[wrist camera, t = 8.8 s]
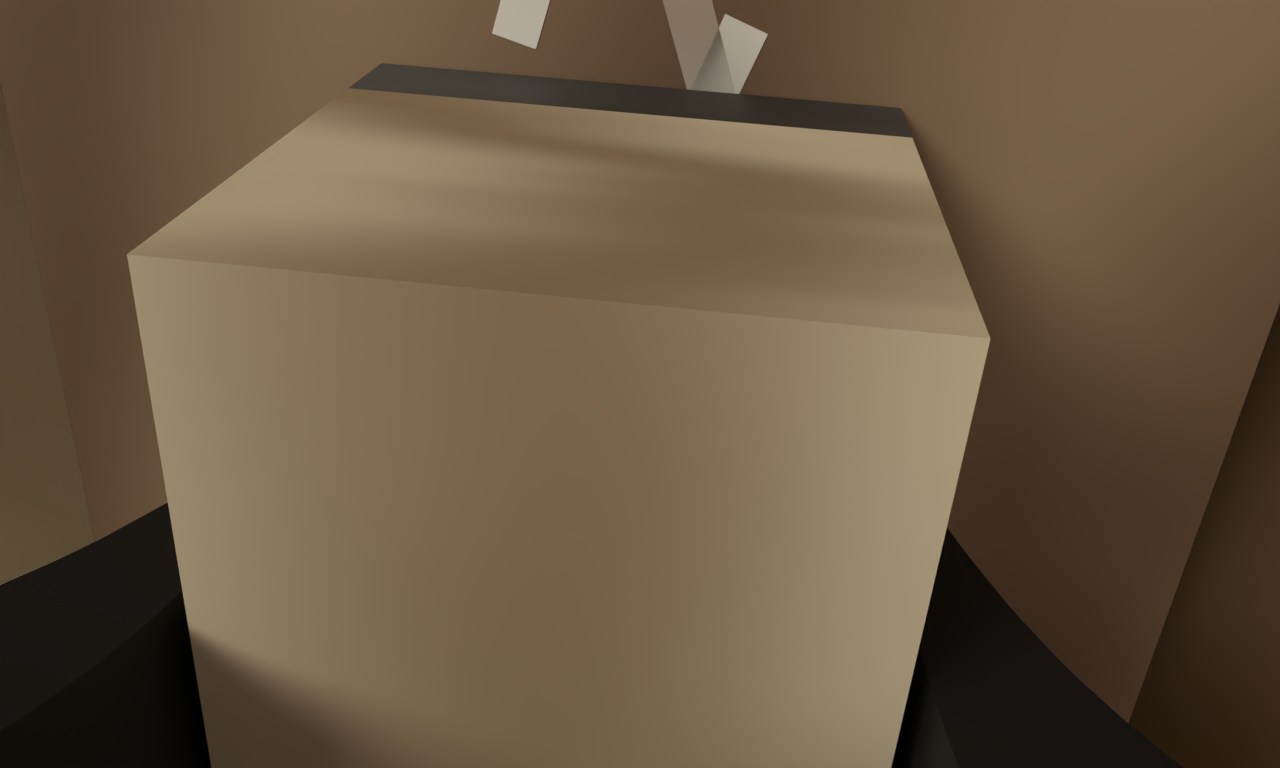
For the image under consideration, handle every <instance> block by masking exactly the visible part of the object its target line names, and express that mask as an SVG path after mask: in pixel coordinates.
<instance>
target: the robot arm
mask: <svg viewBox="0 0 1280 768" xmlns="http://www.w3.org/2000/svg"><path fill="white" fill-rule="evenodd" d="M0 768H211V762H210V756H209V750H208V744H207V738H206V732H205V726H204V720H203V713H202V707H201V701H200V695H199V689H198V683H197V677H196V671H195V665H194V659H193V653H192V647H191V641H190V634H189V628H188V622H187V616H186V610H185V604H184V598H183V592H182V586H181V580H180V574H179V568H178V561H177V555H176V549H175V543H174V537H173V531H172V525H171V519H170V513H169V507H168V503H166V504H164V505H162V506H160V507H158V508H157V509H155V510H153V511H151V512H149V513H147V514H146V515H144V516H142V517H140V518H138V519H136V520H135V521H133V522H131V523H129V524H127V525H125V526H124V527H122V528H120V529H118V530H116V531H114V532H113V533H111V534H109V535H107V536H105V537H103V538H102V539H100V540H98V541H96V542H94V543H92V544H90V545H88V546H86V547H84V548H82V549H80V550H78V551H75V552H73V553H71V554H69V555H67V556H65V557H63V558H61V559H59V560H56V561H54V562H52V563H50V564H48V565H45V566H43V567H41V568H39V569H36V570H34V571H32V572H30V573H27V574H25V575H23V576H20V577H18V578H16V579H14V580H11V581H9V582H7V583H4V584H2V585H0ZM891 768H1183V767H1182V766H1180V765H1179V764H1178V763H1177V762H1175V761H1174V760H1173V759H1171V758H1170V757H1169V756H1167V755H1166V754H1165V753H1163V752H1162V751H1161V750H1160V749H1158V748H1157V747H1156V746H1155V745H1153V744H1152V743H1151V742H1150V741H1149V740H1147V739H1146V738H1145V737H1144V736H1143V735H1141V734H1140V733H1139V732H1138V731H1136V730H1135V729H1134V728H1133V727H1132V726H1131V725H1129V724H1128V723H1127V722H1126V721H1125V720H1124V719H1123V718H1121V717H1120V716H1119V715H1118V714H1117V713H1116V712H1115V711H1114V710H1113V709H1111V708H1110V707H1109V706H1108V705H1107V704H1106V703H1105V702H1104V701H1103V700H1102V699H1100V698H1099V697H1098V696H1097V695H1096V694H1095V693H1094V692H1093V691H1092V690H1090V689H1089V688H1088V687H1087V686H1086V685H1085V684H1084V683H1083V682H1082V681H1080V680H1079V679H1078V678H1077V677H1076V676H1075V675H1074V674H1073V673H1072V672H1071V671H1070V670H1069V669H1068V668H1067V667H1066V666H1065V665H1064V664H1063V663H1062V662H1061V661H1060V660H1059V659H1058V658H1057V657H1056V656H1055V655H1054V654H1053V653H1052V652H1051V651H1050V650H1049V648H1048V647H1047V646H1046V645H1045V644H1044V643H1043V642H1042V641H1041V640H1040V639H1039V638H1038V637H1037V636H1036V635H1035V634H1034V632H1033V631H1032V630H1031V629H1030V628H1029V627H1028V626H1027V625H1026V624H1025V623H1024V622H1023V621H1022V620H1021V619H1020V618H1019V616H1018V615H1017V614H1016V613H1015V612H1014V611H1013V610H1012V608H1011V607H1010V606H1009V605H1008V604H1007V603H1006V601H1005V600H1004V599H1003V598H1002V596H1001V595H1000V594H999V593H998V592H997V590H996V589H995V588H994V587H993V586H992V584H991V583H990V582H989V581H988V579H987V578H986V577H985V576H984V575H983V573H982V572H981V571H980V570H979V568H978V567H977V566H976V565H975V563H974V562H973V561H972V559H971V558H970V557H969V556H968V554H967V553H966V552H965V550H964V549H963V548H962V546H961V545H960V544H959V542H958V541H957V540H956V538H955V537H954V536H953V534H952V533H951V532H950V530H949V529H948V528H947V529H946V533H945V538H944V542H943V546H942V551H941V555H940V559H939V563H938V568H937V572H936V576H935V581H934V585H933V589H932V594H931V598H930V602H929V607H928V611H927V615H926V620H925V624H924V628H923V633H922V637H921V641H920V646H919V650H918V654H917V659H916V663H915V667H914V671H913V676H912V680H911V684H910V689H909V693H908V697H907V702H906V706H905V710H904V715H903V719H902V723H901V728H900V732H899V736H898V741H897V745H896V749H895V754H894V758H893V762H892V766H891Z"/></svg>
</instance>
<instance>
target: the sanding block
mask: <svg viewBox="0 0 1280 768" xmlns="http://www.w3.org/2000/svg"><path fill="white" fill-rule="evenodd" d="M127 258H128V264H129V270H130V276H131V282H132V288H133V294H134V300H135V306H136V312H137V318H138V324H139V330H140V337H141V343H142V349H143V355H144V361H145V367H146V373H147V379H148V385H149V391H150V397H151V403H152V410H153V416H154V422H155V428H156V434H157V440H158V446H159V452H160V458H161V464H162V470H163V476H164V482H165V489H166V495H167V501H168V507H169V513H170V519H171V525H172V531H173V537H174V543H175V549H176V555H177V561H178V568H179V574H180V580H181V586H182V592H183V598H184V604H185V610H186V616H187V622H188V628H189V634H190V641H191V647H192V653H193V659H194V665H195V671H196V677H197V683H198V689H199V695H200V701H201V707H202V713H203V720H204V726H205V732H206V738H207V744H208V750H209V756H210V762H211V768H891V766H892V762H893V758H894V754H895V749H896V745H897V741H898V736H899V732H900V728H901V723H902V719H903V715H904V710H905V706H906V702H907V697H908V693H909V689H910V684H911V680H912V676H913V671H914V667H915V663H916V659H917V654H918V650H919V646H920V641H921V637H922V633H923V628H924V624H925V620H926V615H927V611H928V607H929V602H930V598H931V594H932V589H933V585H934V581H935V576H936V572H937V568H938V563H939V559H940V555H941V551H942V546H943V542H944V538H945V533H946V529H947V525H948V520H949V516H950V512H951V507H952V503H953V499H954V494H955V490H956V486H957V481H958V477H959V473H960V468H961V464H962V460H963V455H964V451H965V447H966V443H967V438H968V434H969V430H970V425H971V421H972V417H973V412H974V408H975V404H976V399H977V395H978V391H979V386H980V382H981V378H982V373H983V369H984V365H985V360H986V356H987V352H988V347H989V343H990V339H991V338H990V336H989V333H988V331H987V328H986V326H985V323H984V320H983V318H982V315H981V313H980V310H979V308H978V305H977V302H976V300H975V297H974V295H973V292H972V290H971V287H970V284H969V282H968V279H967V277H966V274H965V272H964V269H963V266H962V264H961V261H960V259H959V256H958V254H957V251H956V249H955V246H954V243H953V241H952V238H951V236H950V233H949V231H948V228H947V225H946V223H945V220H944V218H943V215H942V213H941V210H940V207H939V205H938V202H937V200H936V197H935V195H934V192H933V189H932V187H931V184H930V182H929V179H928V177H927V174H926V171H925V169H924V166H923V164H922V161H921V159H920V156H919V154H918V151H917V148H916V146H915V143H914V141H913V138H912V136H911V133H910V130H909V128H908V125H907V123H906V120H905V118H904V115H903V112H902V110H901V108H896V107H884V106H873V105H861V104H849V103H838V102H826V101H815V100H803V99H792V98H780V97H768V96H757V95H745V94H734V93H722V92H710V91H699V90H687V89H676V88H664V87H652V86H641V85H629V84H618V83H606V82H594V81H583V80H571V79H560V78H548V77H537V76H525V75H513V74H502V73H490V72H479V71H467V70H455V69H444V68H432V67H421V66H409V65H397V64H386V63H381V64H380V65H378V66H377V67H376V68H374V69H373V70H372V71H370V72H369V73H368V74H366V75H365V76H364V77H362V78H361V79H360V80H358V81H357V82H356V83H354V84H353V85H352V86H350V87H349V88H348V89H346V90H345V91H344V92H342V93H341V94H340V95H338V96H337V97H336V98H334V99H333V100H332V101H330V102H329V103H328V104H326V105H325V106H324V107H322V108H321V109H320V110H318V111H317V112H316V113H314V114H313V115H312V116H310V117H309V118H308V119H306V120H305V121H304V122H302V123H301V124H300V125H298V126H297V127H296V128H294V129H293V130H292V131H290V132H289V133H288V134H286V135H285V136H284V137H282V138H281V139H280V140H278V141H277V142H276V143H274V144H273V145H272V146H270V147H269V148H268V149H266V150H265V151H264V152H262V153H261V154H260V155H258V156H257V157H256V158H254V159H253V160H252V161H250V162H249V163H248V164H247V165H245V166H244V167H243V168H241V169H240V170H239V171H237V172H236V173H235V174H233V175H232V176H231V177H229V178H228V179H227V180H225V181H224V182H223V183H221V184H220V185H219V186H217V187H216V188H215V189H213V190H212V191H211V192H209V193H208V194H207V195H205V196H204V197H203V198H201V199H200V200H199V201H197V202H196V203H195V204H193V205H192V206H191V207H189V208H188V209H187V210H185V211H184V212H183V213H181V214H180V215H179V216H177V217H176V218H175V219H173V220H172V221H171V222H169V223H168V224H167V225H165V226H164V227H163V228H161V229H160V230H159V231H157V232H156V233H155V234H153V235H152V236H151V237H149V238H148V239H147V240H145V241H144V242H143V243H141V244H140V245H139V246H137V247H136V248H135V249H133V250H132V251H131V252H129V253H128V254H127Z"/></svg>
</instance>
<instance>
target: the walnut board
mask: <svg viewBox="0 0 1280 768" xmlns="http://www.w3.org/2000/svg"><path fill="white" fill-rule="evenodd" d="M381 63H386V64H397V65H409V66H421V67H432V68H444V69H455V70H467V71H479V72H490V73H502V74H513V75H525V76H537V77H548V78H560V79H571V80H583V81H594V82H606V83H618V84H629V85H641V86H652V87H664V88H676V89H687V90H699V91H710V92H722V93H734V94H745V95H757V96H768V97H780V98H792V99H803V100H815V101H826V102H838V103H849V104H861V105H873V106H884V107H896V108H901V110H902V112H903V115H904V118H905V120H906V123H907V125H908V128H909V130H910V133H911V136H912V138H913V141H914V143H915V146H916V148H917V151H918V154H919V156H920V159H921V161H922V164H923V166H924V169H925V171H926V174H927V177H928V179H929V182H930V184H931V187H932V189H933V192H934V195H935V197H936V200H937V202H938V205H939V207H940V210H941V213H942V215H943V218H944V220H945V223H946V225H947V228H948V231H949V233H950V236H951V238H952V241H953V243H954V246H955V249H956V251H957V254H958V256H959V259H960V261H961V264H962V266H963V269H964V272H965V274H966V277H967V279H968V282H969V284H970V287H971V290H972V292H973V295H974V297H975V300H976V302H977V305H978V308H979V310H980V313H981V315H982V318H983V320H984V323H985V326H986V328H987V331H988V333H989V336H990V338H991V339H990V343H989V347H988V352H987V356H986V360H985V365H984V369H983V373H982V378H981V382H980V386H979V391H978V395H977V399H976V404H975V408H974V412H973V417H972V421H971V425H970V430H969V434H968V438H967V443H966V447H965V451H964V455H963V460H962V464H961V468H960V473H959V477H958V481H957V486H956V490H955V494H954V499H953V503H952V507H951V512H950V516H949V520H948V525H947V528H948V529H949V530H950V532H951V533H952V534H953V536H954V537H955V538H956V540H957V541H958V542H959V544H960V545H961V546H962V548H963V549H964V550H965V552H966V553H967V554H968V556H969V557H970V558H971V559H972V561H973V562H974V563H975V565H976V566H977V567H978V568H979V570H980V571H981V572H982V573H983V575H984V576H985V577H986V578H987V579H988V581H989V582H990V583H991V584H992V586H993V587H994V588H995V589H996V590H997V592H998V593H999V594H1000V595H1001V596H1002V598H1003V599H1004V600H1005V601H1006V603H1007V604H1008V605H1009V606H1010V607H1011V608H1012V610H1013V611H1014V612H1015V613H1016V614H1017V615H1018V616H1019V618H1020V619H1021V620H1022V621H1023V622H1024V623H1025V624H1026V625H1027V626H1028V627H1029V628H1030V629H1031V630H1032V631H1033V632H1034V634H1035V635H1036V636H1037V637H1038V638H1039V639H1040V640H1041V641H1042V642H1043V643H1044V644H1045V645H1046V646H1047V647H1048V648H1049V650H1050V651H1051V652H1052V653H1053V654H1054V655H1055V656H1056V657H1057V658H1058V659H1059V660H1060V661H1061V662H1062V663H1063V664H1064V665H1065V666H1066V667H1067V668H1068V669H1069V670H1070V671H1071V672H1072V673H1073V674H1074V675H1075V676H1076V677H1077V678H1078V679H1079V680H1080V681H1082V682H1083V683H1084V684H1085V685H1086V686H1087V687H1088V688H1089V689H1090V690H1092V691H1093V692H1094V693H1095V694H1096V695H1097V696H1098V697H1099V698H1100V699H1102V700H1103V701H1104V702H1105V703H1106V704H1107V705H1108V706H1109V707H1110V708H1111V709H1113V710H1114V711H1115V712H1116V713H1117V714H1118V715H1119V716H1120V717H1121V718H1123V719H1124V720H1125V721H1126V722H1127V723H1129V720H1130V717H1131V715H1132V712H1133V709H1134V706H1135V703H1136V701H1137V698H1138V695H1139V692H1140V690H1141V687H1142V684H1143V681H1144V679H1145V676H1146V673H1147V670H1148V667H1149V665H1150V662H1151V659H1152V656H1153V654H1154V651H1155V648H1156V645H1157V642H1158V640H1159V637H1160V634H1161V631H1162V629H1163V626H1164V623H1165V620H1166V618H1167V615H1168V612H1169V609H1170V606H1171V604H1172V601H1173V598H1174V595H1175V593H1176V590H1177V587H1178V584H1179V582H1180V579H1181V576H1182V573H1183V570H1184V568H1185V565H1186V562H1187V559H1188V557H1189V554H1190V551H1191V548H1192V545H1193V543H1194V540H1195V537H1196V534H1197V532H1198V529H1199V526H1200V523H1201V521H1202V518H1203V515H1204V512H1205V509H1206V507H1207V504H1208V501H1209V498H1210V496H1211V493H1212V490H1213V487H1214V484H1215V482H1216V479H1217V476H1218V473H1219V471H1220V468H1221V465H1222V462H1223V460H1224V457H1225V454H1226V451H1227V448H1228V446H1229V443H1230V440H1231V437H1232V435H1233V432H1234V429H1235V426H1236V424H1237V421H1238V418H1239V415H1240V412H1241V410H1242V407H1243V404H1244V401H1245V399H1246V396H1247V393H1248V390H1249V387H1250V385H1251V382H1252V379H1253V376H1254V374H1255V371H1256V368H1257V365H1258V363H1259V360H1260V357H1261V354H1262V351H1263V349H1264V346H1265V343H1266V340H1267V338H1268V335H1269V332H1270V329H1271V326H1272V324H1273V321H1274V318H1275V315H1276V313H1277V310H1278V307H1279V304H1280V0H0V82H1V87H2V91H3V96H4V101H5V106H6V111H7V116H8V121H9V126H10V130H11V135H12V140H13V145H14V150H15V155H16V160H17V165H18V169H19V174H20V179H21V184H22V189H23V194H24V199H25V204H26V208H27V213H28V218H29V223H30V228H31V233H32V238H33V243H34V247H35V252H36V257H37V262H38V267H39V272H40V277H41V282H42V286H43V291H44V296H45V301H46V306H47V311H48V316H49V321H50V325H51V330H52V335H53V340H54V345H55V350H56V355H57V360H58V364H59V369H60V374H61V379H62V384H63V389H64V394H65V399H66V403H67V408H68V413H69V418H70V423H71V428H72V433H73V438H74V442H75V447H76V452H77V457H78V462H79V467H80V472H81V477H82V481H83V486H84V491H85V496H86V501H87V506H88V511H89V516H90V520H91V525H92V530H93V535H94V540H95V542H96V541H98V540H100V539H102V538H103V537H105V536H107V535H109V534H111V533H113V532H114V531H116V530H118V529H120V528H122V527H124V526H125V525H127V524H129V523H131V522H133V521H135V520H136V519H138V518H140V517H142V516H144V515H146V514H147V513H149V512H151V511H153V510H155V509H157V508H158V507H160V506H162V505H164V504H166V503H168V501H167V495H166V489H165V482H164V476H163V470H162V464H161V458H160V452H159V446H158V440H157V434H156V428H155V422H154V416H153V410H152V403H151V397H150V391H149V385H148V379H147V373H146V367H145V361H144V355H143V349H142V343H141V337H140V330H139V324H138V318H137V312H136V306H135V300H134V294H133V288H132V282H131V276H130V270H129V264H128V258H127V254H128V253H129V252H131V251H132V250H133V249H135V248H136V247H137V246H139V245H140V244H141V243H143V242H144V241H145V240H147V239H148V238H149V237H151V236H152V235H153V234H155V233H156V232H157V231H159V230H160V229H161V228H163V227H164V226H165V225H167V224H168V223H169V222H171V221H172V220H173V219H175V218H176V217H177V216H179V215H180V214H181V213H183V212H184V211H185V210H187V209H188V208H189V207H191V206H192V205H193V204H195V203H196V202H197V201H199V200H200V199H201V198H203V197H204V196H205V195H207V194H208V193H209V192H211V191H212V190H213V189H215V188H216V187H217V186H219V185H220V184H221V183H223V182H224V181H225V180H227V179H228V178H229V177H231V176H232V175H233V174H235V173H236V172H237V171H239V170H240V169H241V168H243V167H244V166H245V165H247V164H248V163H249V162H250V161H252V160H253V159H254V158H256V157H257V156H258V155H260V154H261V153H262V152H264V151H265V150H266V149H268V148H269V147H270V146H272V145H273V144H274V143H276V142H277V141H278V140H280V139H281V138H282V137H284V136H285V135H286V134H288V133H289V132H290V131H292V130H293V129H294V128H296V127H297V126H298V125H300V124H301V123H302V122H304V121H305V120H306V119H308V118H309V117H310V116H312V115H313V114H314V113H316V112H317V111H318V110H320V109H321V108H322V107H324V106H325V105H326V104H328V103H329V102H330V101H332V100H333V99H334V98H336V97H337V96H338V95H340V94H341V93H342V92H344V91H345V90H346V89H348V88H349V87H350V86H352V85H353V84H354V83H356V82H357V81H358V80H360V79H361V78H362V77H364V76H365V75H366V74H368V73H369V72H370V71H372V70H373V69H374V68H376V67H377V66H378V65H380V64H381Z"/></svg>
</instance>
